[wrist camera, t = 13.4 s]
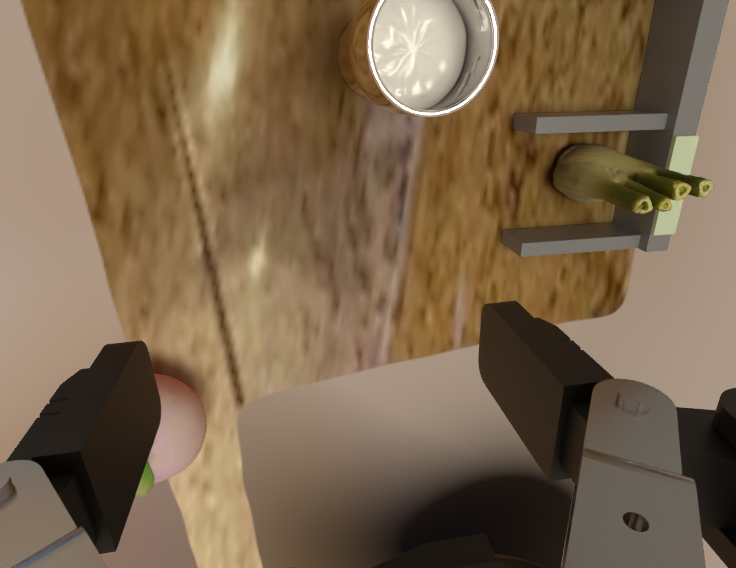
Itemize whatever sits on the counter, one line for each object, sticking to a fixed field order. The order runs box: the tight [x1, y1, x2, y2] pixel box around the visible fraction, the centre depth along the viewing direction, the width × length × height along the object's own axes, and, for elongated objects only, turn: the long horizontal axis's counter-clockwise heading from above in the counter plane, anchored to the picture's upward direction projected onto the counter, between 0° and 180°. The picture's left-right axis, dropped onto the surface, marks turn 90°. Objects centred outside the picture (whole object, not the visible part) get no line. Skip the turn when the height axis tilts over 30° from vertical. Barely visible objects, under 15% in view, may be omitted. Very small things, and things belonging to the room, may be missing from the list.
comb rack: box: [501, 0, 729, 257], centre depth 39 cm, size 21×13×5 cm, turn 1°
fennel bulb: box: [553, 144, 714, 214], centre depth 37 cm, size 6×5×12 cm
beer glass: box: [338, 0, 499, 117], centre depth 30 cm, size 7×7×15 cm
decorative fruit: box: [135, 374, 207, 497], centre depth 40 cm, size 9×8×10 cm
